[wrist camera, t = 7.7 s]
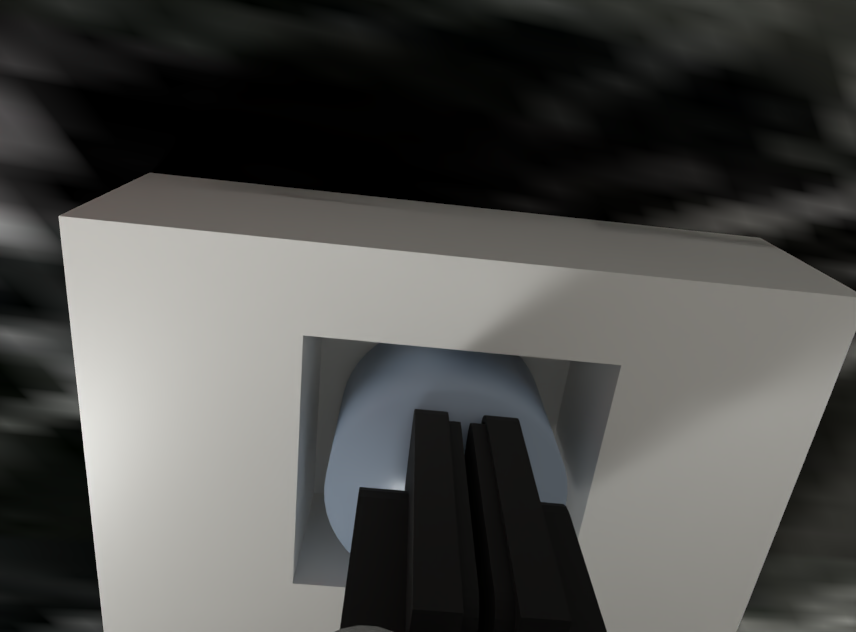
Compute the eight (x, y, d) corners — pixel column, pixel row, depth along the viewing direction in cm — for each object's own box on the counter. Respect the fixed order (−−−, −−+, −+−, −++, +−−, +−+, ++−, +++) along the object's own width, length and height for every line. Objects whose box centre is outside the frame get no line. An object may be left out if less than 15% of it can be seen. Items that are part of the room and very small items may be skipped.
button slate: (522, 502, 14) (543, 598, 12) (336, 487, 14) (318, 581, 11) (557, 333, 12) (590, 403, 10) (347, 313, 12) (330, 379, 10)
